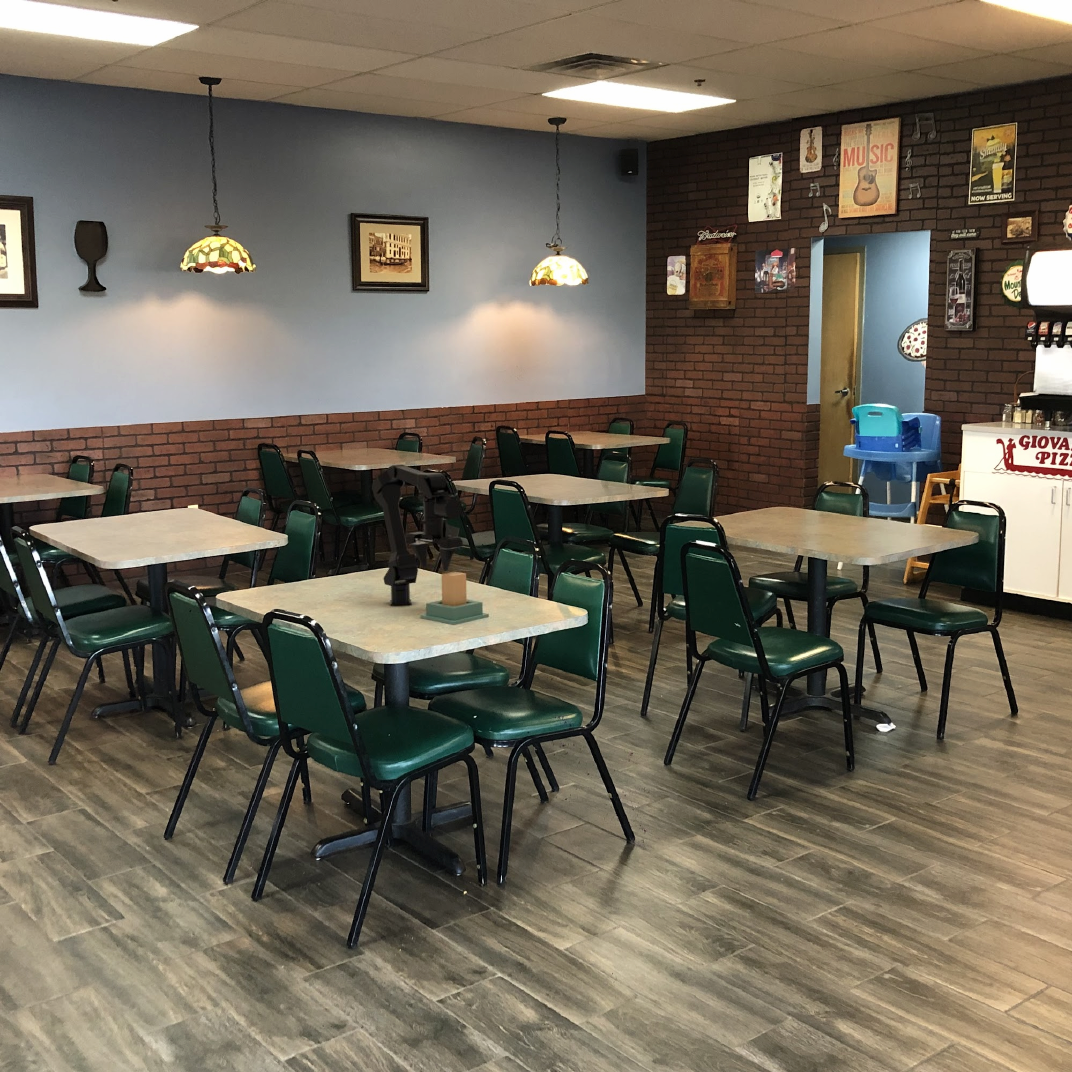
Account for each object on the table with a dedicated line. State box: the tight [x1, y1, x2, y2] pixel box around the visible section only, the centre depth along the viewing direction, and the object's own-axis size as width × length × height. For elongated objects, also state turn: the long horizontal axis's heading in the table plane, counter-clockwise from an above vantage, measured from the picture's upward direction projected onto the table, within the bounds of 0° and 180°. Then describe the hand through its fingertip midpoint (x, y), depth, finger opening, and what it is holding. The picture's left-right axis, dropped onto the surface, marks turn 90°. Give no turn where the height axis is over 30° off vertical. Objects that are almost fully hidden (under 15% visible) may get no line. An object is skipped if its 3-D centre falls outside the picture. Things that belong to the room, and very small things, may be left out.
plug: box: [440, 571, 468, 606], centre depth 350 cm, size 5×5×12 cm
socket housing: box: [419, 599, 490, 626], centre depth 350 cm, size 14×14×4 cm
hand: (434, 569), depth 356 cm, fingers open, 9 cm apart
